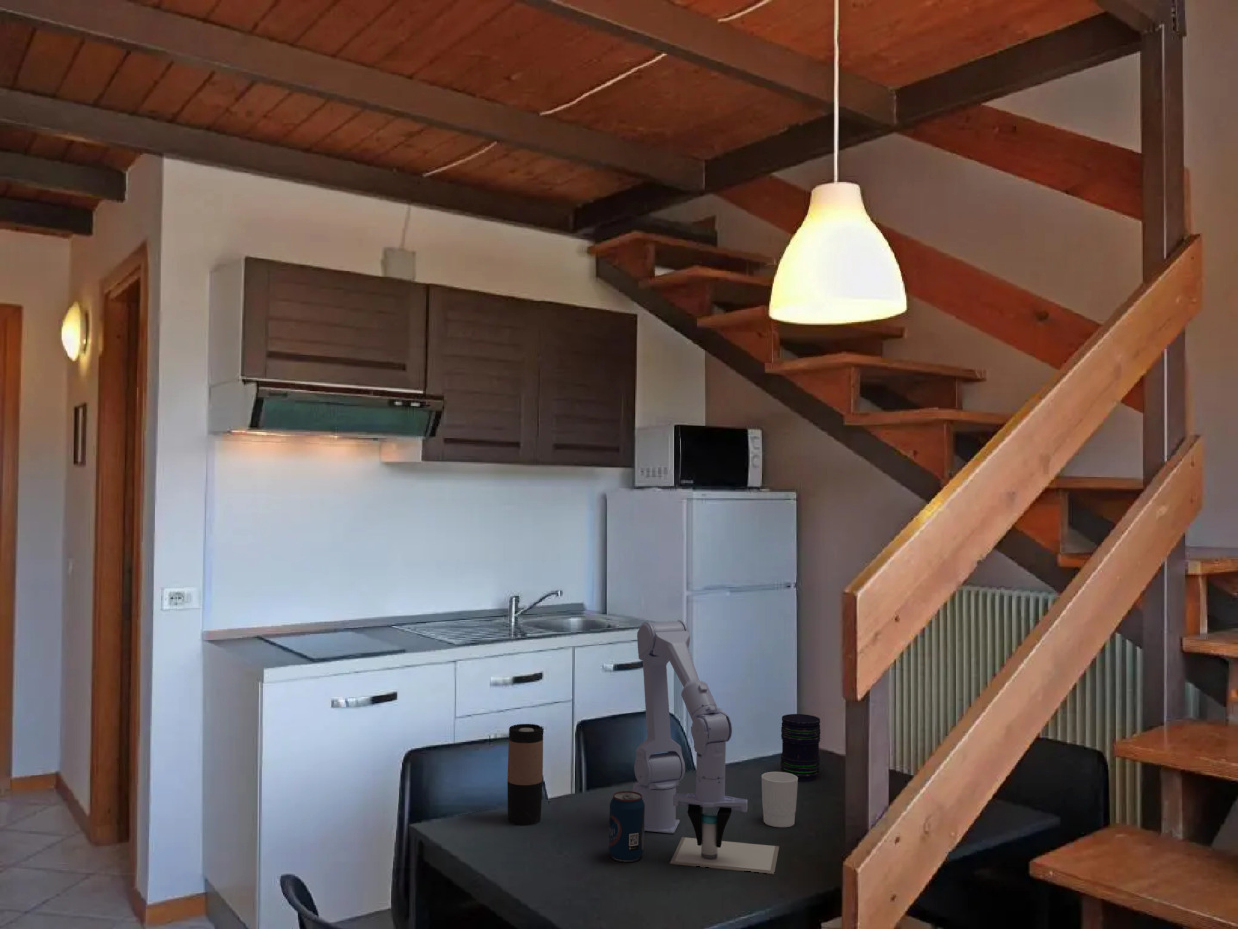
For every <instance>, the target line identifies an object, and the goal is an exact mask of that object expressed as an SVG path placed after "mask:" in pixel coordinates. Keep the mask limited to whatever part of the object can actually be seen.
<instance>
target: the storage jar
mask: <svg viewBox="0 0 1238 929" xmlns="http://www.w3.org/2000/svg"><path fill="white" fill-rule="evenodd" d="M780 729H781V730H780V732H781V735H780V737H781V740H782V741H781V742H782V743H781V744H782V745H781V746H782V749H781V754H780V767H781V768H780V772H785V773H790V774H793V775H795V776H797V777H798V783H799V782H803V783H804V782H810V783H815V781H816V782H818V781H819V780H820V775H819V774H820V769H821V763H820V762H821V758H820V748H819V746H820V742H821V718H820V717H818V716H815V715H810V714H806V713H805V714H803V713H790V714H784V715H782V716H781V727H780ZM803 783H802V784H803ZM804 784H805V783H804Z"/></svg>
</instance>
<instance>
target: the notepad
mask: <svg viewBox="0 0 1238 929" xmlns="http://www.w3.org/2000/svg"><path fill="white" fill-rule="evenodd" d="M779 851H780V846H779V845H772V844H771V845H770V844H761V843H749V842H740V841H739V842H738V841H729V840H722V844H721V847H720V848H719V847H718V856H717V858H716V859H705V858H702V857H701V846H698V845H697V838H696V837H686V836H682V837H681V838H680V841H679V843H678V845H677V847H676V850H675V851H674V854H673V855H672V858H671V860H670V862H669V864H670V865H678V866H679V865H680V866H688V867H696V866H700V868H705V867H709V868H708V869H715V870H717V869H718V870H725V871H726V870H727V871H735V872H744V871H751V872H750V873H754V872H759V873H758V874H763V873H767V874H766V875H775V873H774V872H776V867H777V861H778V856H779Z"/></svg>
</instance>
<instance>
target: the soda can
mask: <svg viewBox="0 0 1238 929" xmlns="http://www.w3.org/2000/svg"><path fill="white" fill-rule="evenodd" d="M644 821H645V804H644V802H643V799H642V795H641V794H640V793H637V792H633V791H631V790H622V791H620V790H619V791H617V792H615V793H613V794H612V798H611V799H610V802H609V829H608V832H609V834H608V852H609V853H610V856H611V858H612V859H614V861H615V860H616V861H618V862H622V861H623V862H624V863H628V862H629V863H630V862H635V861H639V860H640V859H641V858H642V856H643V853H644V852H645V831H644Z"/></svg>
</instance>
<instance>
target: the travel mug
mask: <svg viewBox="0 0 1238 929" xmlns="http://www.w3.org/2000/svg"><path fill="white" fill-rule="evenodd" d="M507 751H508V752H507V753H508V754H507V755H508V756H507V779H506V780H507V783H506V784H507V821H508V822H509V824H512V825H515V826H533V825H536V824H538V823H540V821H541V817H542V816H541V815H542V802H543V799H542V798H543V782H544V781H543V777H544V776H543V774H544V769H543V768H544V728H542V727H541V725H539V724H535V723H534V724H533V723H518V724H513V725H510V726H509V728H508V750H507Z"/></svg>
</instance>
